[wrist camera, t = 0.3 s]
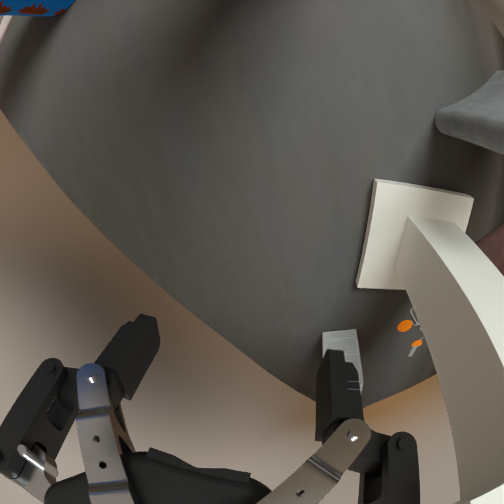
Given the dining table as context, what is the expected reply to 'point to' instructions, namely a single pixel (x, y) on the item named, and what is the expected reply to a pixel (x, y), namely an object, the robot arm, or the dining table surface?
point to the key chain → (406, 326)
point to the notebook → (494, 247)
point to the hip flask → (477, 116)
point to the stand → (447, 316)
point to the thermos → (34, 7)
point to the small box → (345, 347)
